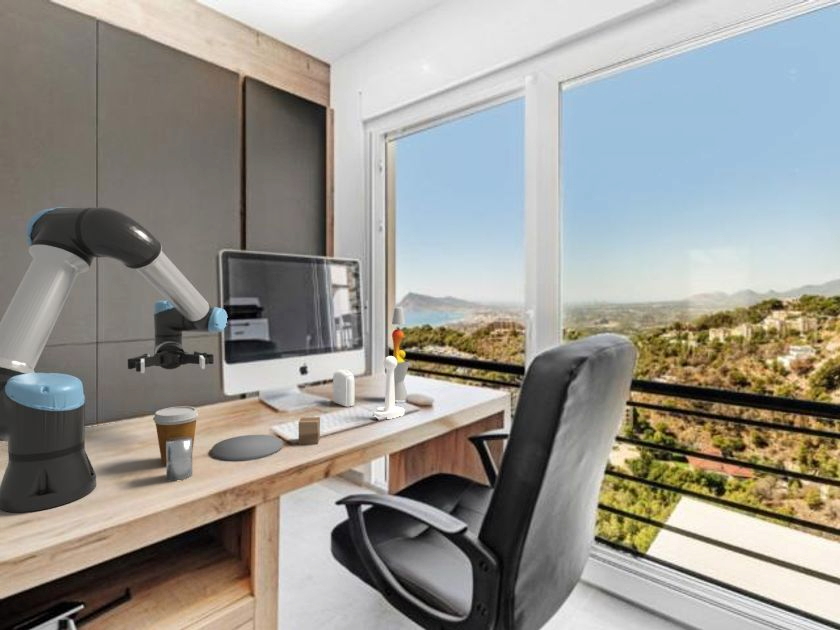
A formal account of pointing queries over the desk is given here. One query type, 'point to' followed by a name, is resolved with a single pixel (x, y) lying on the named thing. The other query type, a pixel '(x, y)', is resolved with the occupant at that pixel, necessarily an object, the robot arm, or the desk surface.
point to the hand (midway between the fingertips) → (173, 365)
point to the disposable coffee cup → (174, 425)
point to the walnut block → (309, 430)
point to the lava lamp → (399, 356)
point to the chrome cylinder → (179, 458)
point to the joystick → (389, 392)
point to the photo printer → (344, 388)
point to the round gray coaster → (247, 447)
